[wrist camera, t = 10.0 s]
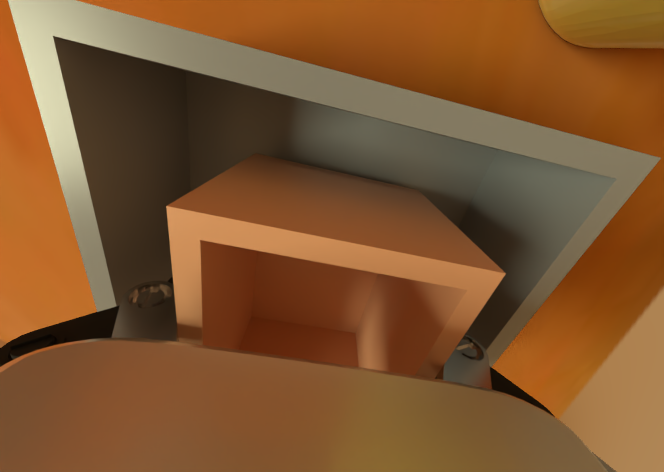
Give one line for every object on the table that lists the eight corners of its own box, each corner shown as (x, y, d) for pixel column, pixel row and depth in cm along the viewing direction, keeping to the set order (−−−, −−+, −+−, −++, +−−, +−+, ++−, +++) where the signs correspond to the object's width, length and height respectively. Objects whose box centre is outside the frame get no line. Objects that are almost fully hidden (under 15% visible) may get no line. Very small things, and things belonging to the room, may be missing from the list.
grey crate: (177, 48, 10) (2, -20, 5) (509, 135, 12) (661, 158, 6) (191, 314, 17) (125, 409, 11) (399, 347, 18) (427, 445, 13)
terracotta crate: (255, 153, 10) (166, 205, 5) (418, 190, 11) (505, 273, 5) (242, 314, 14) (188, 441, 9) (361, 333, 15) (378, 461, 9)
